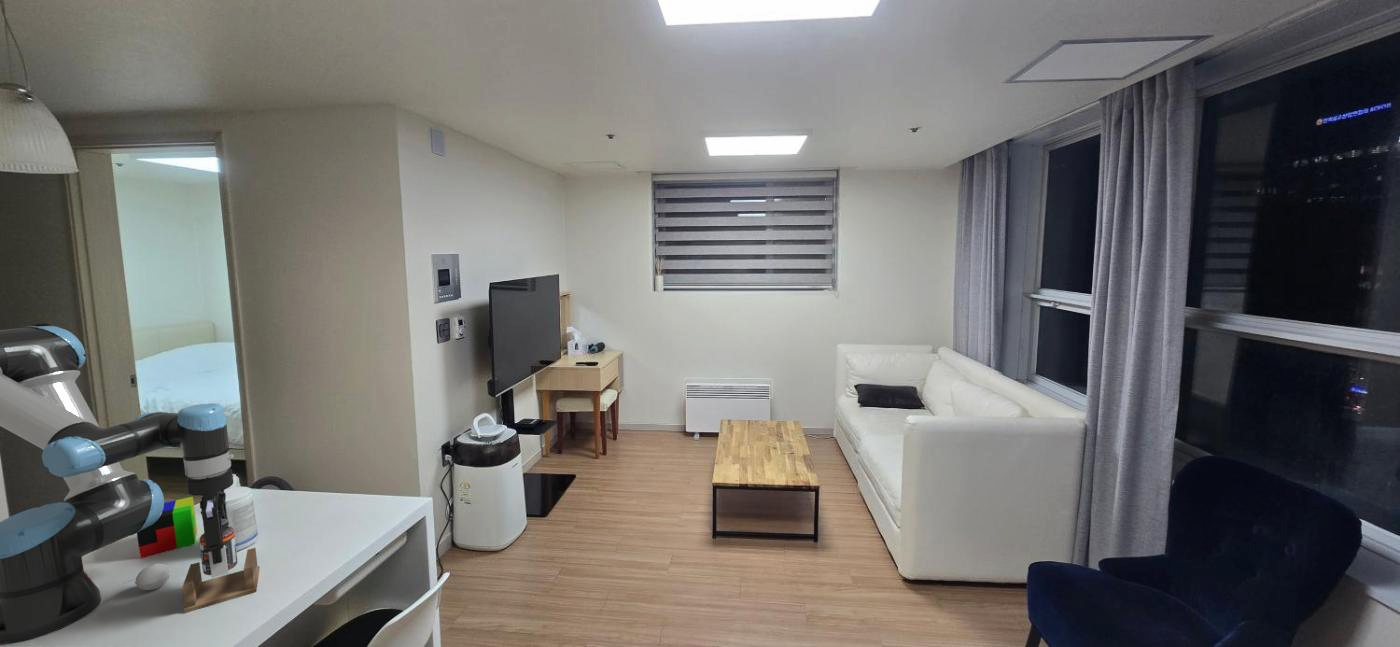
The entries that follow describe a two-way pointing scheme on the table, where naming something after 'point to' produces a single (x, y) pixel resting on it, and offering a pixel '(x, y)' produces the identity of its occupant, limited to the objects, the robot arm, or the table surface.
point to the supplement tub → (241, 516)
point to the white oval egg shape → (152, 577)
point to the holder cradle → (220, 584)
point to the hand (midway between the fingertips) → (221, 567)
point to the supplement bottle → (229, 547)
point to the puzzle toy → (170, 529)
